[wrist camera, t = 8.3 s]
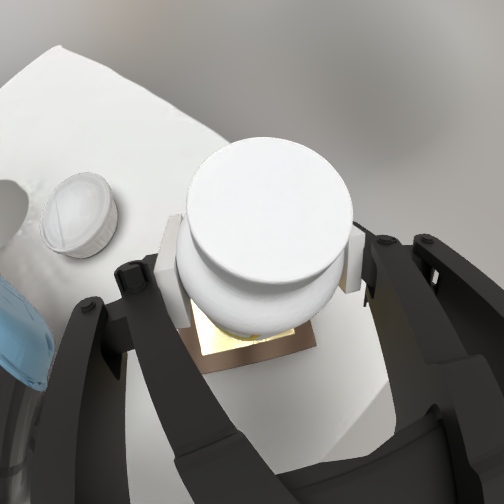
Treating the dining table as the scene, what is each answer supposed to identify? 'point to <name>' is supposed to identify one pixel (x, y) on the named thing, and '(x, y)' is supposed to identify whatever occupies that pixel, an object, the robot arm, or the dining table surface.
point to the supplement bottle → (263, 236)
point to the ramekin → (79, 216)
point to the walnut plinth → (238, 344)
